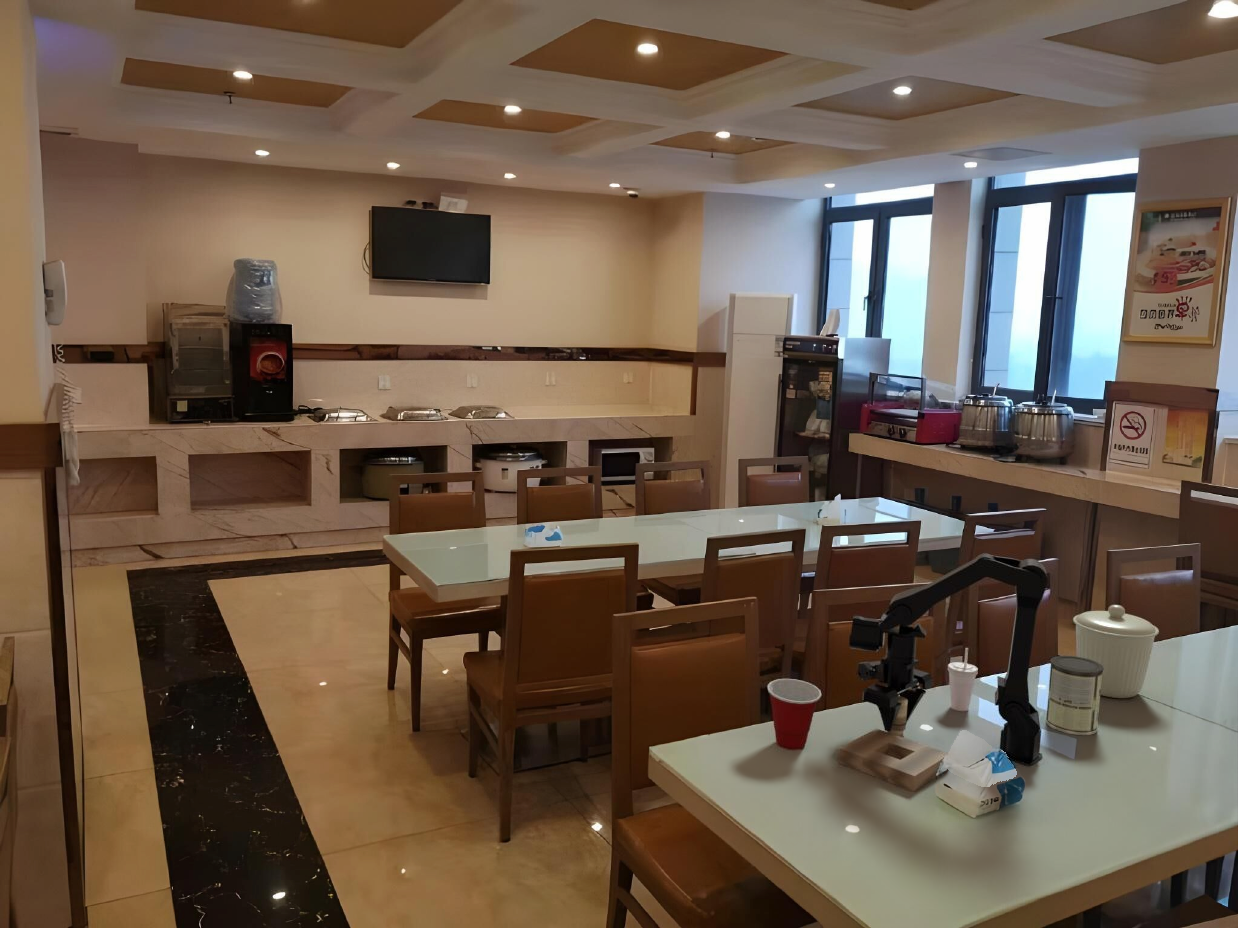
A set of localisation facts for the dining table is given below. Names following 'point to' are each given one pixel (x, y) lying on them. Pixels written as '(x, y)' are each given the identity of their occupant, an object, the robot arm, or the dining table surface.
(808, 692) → the plastic cup
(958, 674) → the smoothie
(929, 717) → the dining table surface
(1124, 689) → the canister
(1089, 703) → the coffee can
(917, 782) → the board
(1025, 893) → the dining table surface
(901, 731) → the peg
